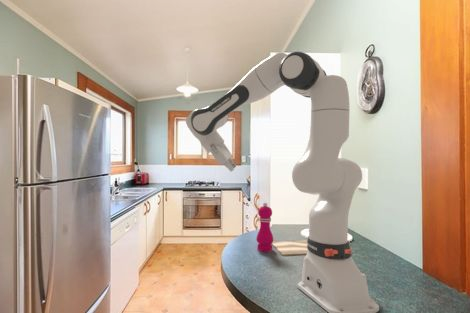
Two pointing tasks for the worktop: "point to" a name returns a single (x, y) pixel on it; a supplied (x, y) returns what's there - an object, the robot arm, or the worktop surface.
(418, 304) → the worktop surface
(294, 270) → the worktop surface
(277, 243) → the wooden board
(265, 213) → the pepper mill
